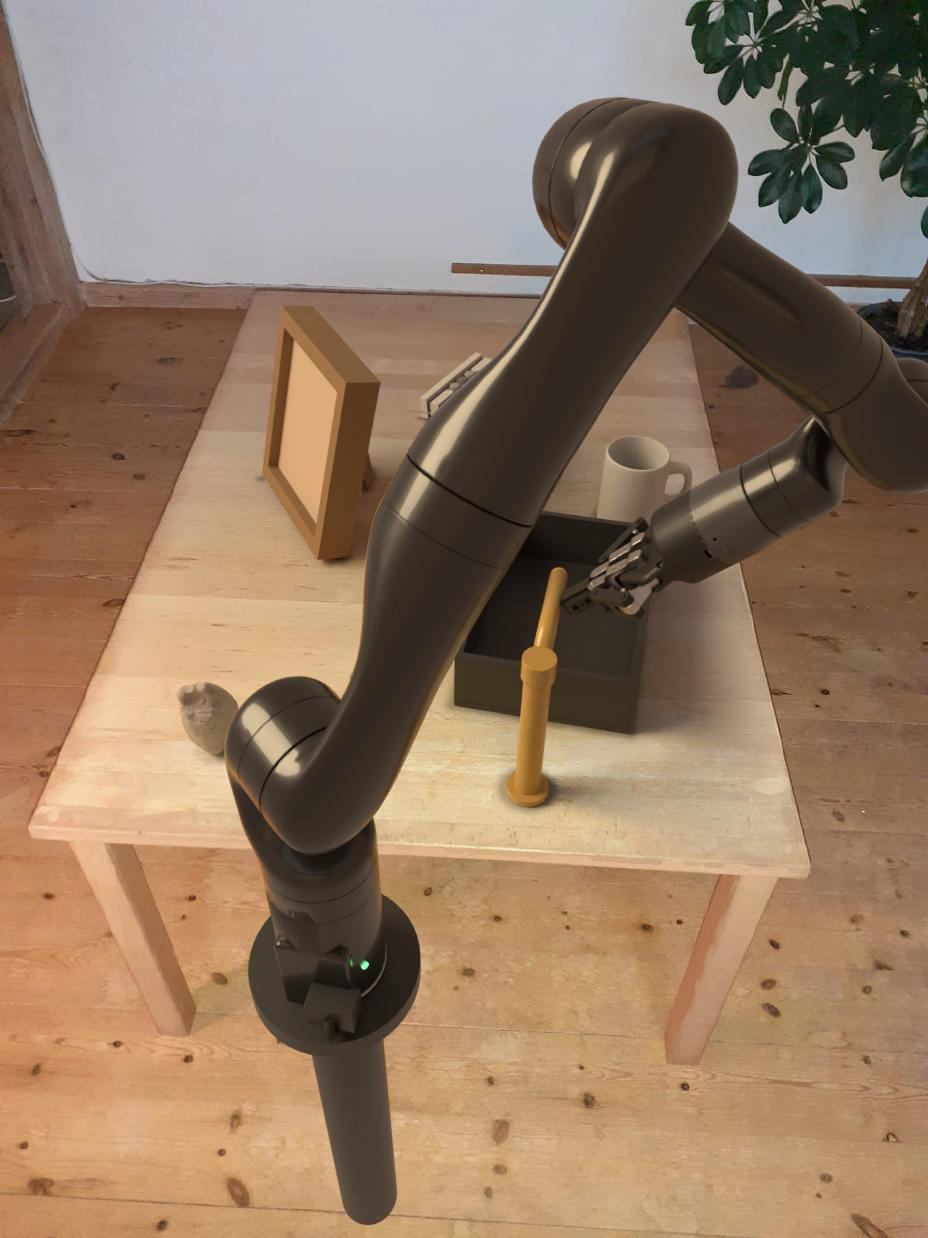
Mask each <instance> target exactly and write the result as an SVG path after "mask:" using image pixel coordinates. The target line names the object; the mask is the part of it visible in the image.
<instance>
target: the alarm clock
mask: <svg viewBox="0 0 928 1238" xmlns="http://www.w3.org/2000/svg"><path fill="white" fill-rule="evenodd" d="M492 359H493V358H489V357H483V353H480V352H474V353H473V354H471V355H470V356H469V357H468V358H466V360H464V361H463V362H462V363H460V364H459V365H458V366H457V367H455V369H453V370H452V371H451V372H450V373H448V374H447V375H446V376H445V377H444V378H442V379H441V380H440V381H439V382H437V383H436V384H435V385H434V386H432V387H431V388H430V389H428V390H427V391H426V392H425V393H424V394H422V395H421V396H420V397H419V407H420V416H421V418H422V419H426V420H428V419H429V418H430V417H431V416H432V415H431V414H429V413H428V412H430V413H433V414H434V413H435V411H436V410H437V409H438V408H439V407H440V406H441V405H442V404H443V403H444V402H445V401H446V400H447V399H448V398H449V397H450V396H451V395H452V394H453V393H455V392H456V391H457V390H458V389H459V388H460V387H461V386H462V385H463V384H465V383H466V382H467V381H468V380H469V379H470V378H471V377H472V376H474V375H475V374H476V373H477V372H478V371H479V370H481V369H482V368H483V367H484V366H485V365H486V364H488V363H489V362H490V361H491V360H492ZM421 411H424V412H426V413H428V414H426V413H423V412H421Z"/></svg>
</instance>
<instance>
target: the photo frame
mask: <svg viewBox="0 0 928 1238" xmlns="http://www.w3.org/2000/svg"><path fill="white" fill-rule="evenodd" d="M278 320H279V321H278V329H277V337H276V348H275V357H274V364H273V374H272V382H271V391H270V399H269V408H268V409H269V410H268V417H267V427H266V434H265V435H266V436H265V443H264V444H265V445H264V451H263V453H264V454H263V462H262V469H261V473H262V475H263V477H264V478H265V480H266V482H267V483H268V484H269V486H270V488H271V489H272V491H273V493H274V494H275V496H276V498H277V499H278V500H279V502H280V503H281V506H282V507H283V509H284V510H285V512H286V513H287V514H288V516H289V518H290V519H291V521H292V523H293V524H294V526H295V527H296V529H297V530H298V532H299V534H300V535H301V537H302V539H303V540H304V541H305V543H306V544H307V546H308V547H309V549H310V551H311V553H312V554H313V555H314V558H316V560H317V561H323V560H331V559H333V560H334V559H343V558H349V557H350V551H351V547H352V541H353V535H354V531H355V525H356V520H357V515H358V509H359V504H360V497H361V493H362V486H363V488H364V489H368V488H369V485H370V482H371V479H372V475H373V471H374V469H373V466H372V461H371V457H370V452H369V449H370V443H371V439H372V438H371V437H372V433H373V427H374V421H375V415H376V412H377V405H378V399H379V393H380V388H381V384H382V383H381V381H380V379H378V377H377V376H376V375H375V374H374V373H373V372H372V371H371V370H370V368H369V367H368V366H367V365H366V364H365V362H363V361H362V360H361V358H360V357H359V356H358V355H357V354H356V353H355V351H354V350H353V349H352V348H351V347H350V346H349V345H348V344H347V342H346V341H344V339H343V338H342V337H341V336H340V335H339V333H338V332H337V331H336V330H335V329H334V328H333V327H332V326H331V325H330V323H329V322H328V321H327V320H326V319H325V318H324V317H323V316H322V314H321V313H320V312H319V311H318V310H317V309H316V308H315V307H314V305H313V306H312V305H290V304H289V305H285V304H281V305H280V312H279V319H278Z"/></svg>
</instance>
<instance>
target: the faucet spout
mask: <svg viewBox="0 0 928 1238" xmlns="http://www.w3.org/2000/svg"><path fill="white" fill-rule="evenodd" d="M567 579H568V574H567V572H566V570H565V569H563V568H560V567H558V568H554V569H553V570H552V571H551V573H550V576H549V581H548V585H547V589H546V594H545V598H544V603H543V607H542V611H541V616H540V620H539V625H538V629H537V633H536V638H535V642H534V646H533V647H531V648H528V649H527V650H526V651H525V652H524V653H523V655H522V663H521V679H522V681H523V683H524V684H525V685H527V686H529V687H531V688H534V689H545V688H548V687H550V686H551V685H552V684H553V683H554V681H555V679H556V670H557V661H558V658H557V656H556V654H555V653H554V651H553V646H554V641H555V637H556V632H557V627H558V622H559V617H560V612H561V608H562V606H561V604H560V602H561V598H562V594H563V592H564V591H565V590H566V583H567Z"/></svg>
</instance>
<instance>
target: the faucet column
mask: <svg viewBox="0 0 928 1238" xmlns="http://www.w3.org/2000/svg"><path fill="white" fill-rule="evenodd" d="M550 694H551V686H550V687H548V688H545V689H534V688H531V687H529V686H527V685H525V684H524V683H523V691H522V703H521V715H520V716H519V717H520V718H519V727H518V728H519V729H518V738H517V750H516V751H517V753H516V761H515V762H516V764H515V770H514V771H512V772H511V773H510V774H509V775H508V777H507V778H506V781H505V793H506V796H507V797H508V799H509V800H510V801H511V802H512V803H514V804H515V805H517V806H519V807H526V808H531V807H537V806H539V805H540V804H542V803H543V802H544V801H545V800H547V797H548V795H549V790H550V784H549V781H548V779H547V777H546V776H545V775H544V774H543V763H544V756H545V746H546V737H547V730H548V729H547V727H548V721H547V720H548V711H549V702H550Z"/></svg>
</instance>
